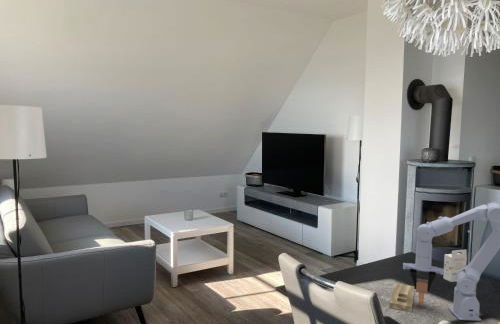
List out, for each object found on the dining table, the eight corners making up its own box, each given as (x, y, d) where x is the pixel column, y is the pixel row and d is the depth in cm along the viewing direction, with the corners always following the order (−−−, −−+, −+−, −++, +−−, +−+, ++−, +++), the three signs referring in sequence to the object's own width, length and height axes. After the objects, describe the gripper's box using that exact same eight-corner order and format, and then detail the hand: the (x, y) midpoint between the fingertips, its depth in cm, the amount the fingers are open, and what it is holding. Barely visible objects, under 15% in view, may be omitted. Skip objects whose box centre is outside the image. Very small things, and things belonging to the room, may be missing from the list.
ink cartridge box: (457, 276, 194) (459, 246, 192) (465, 280, 189) (467, 249, 187) (442, 278, 191) (444, 247, 190) (450, 282, 186) (452, 250, 185)
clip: (426, 299, 163) (427, 279, 162) (426, 306, 157) (427, 284, 156) (416, 297, 165) (417, 277, 164) (415, 304, 159) (416, 283, 158)
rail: (414, 290, 176) (414, 286, 176) (411, 311, 156) (411, 306, 156) (394, 287, 179) (394, 283, 179) (389, 307, 159) (389, 302, 159)
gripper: (444, 255, 160) (442, 288, 161) (404, 250, 166) (402, 282, 167) (444, 260, 153) (442, 295, 155) (403, 254, 159) (401, 288, 161)
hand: (421, 289), depth 160 cm, fingers closed on clip, 4 cm apart
